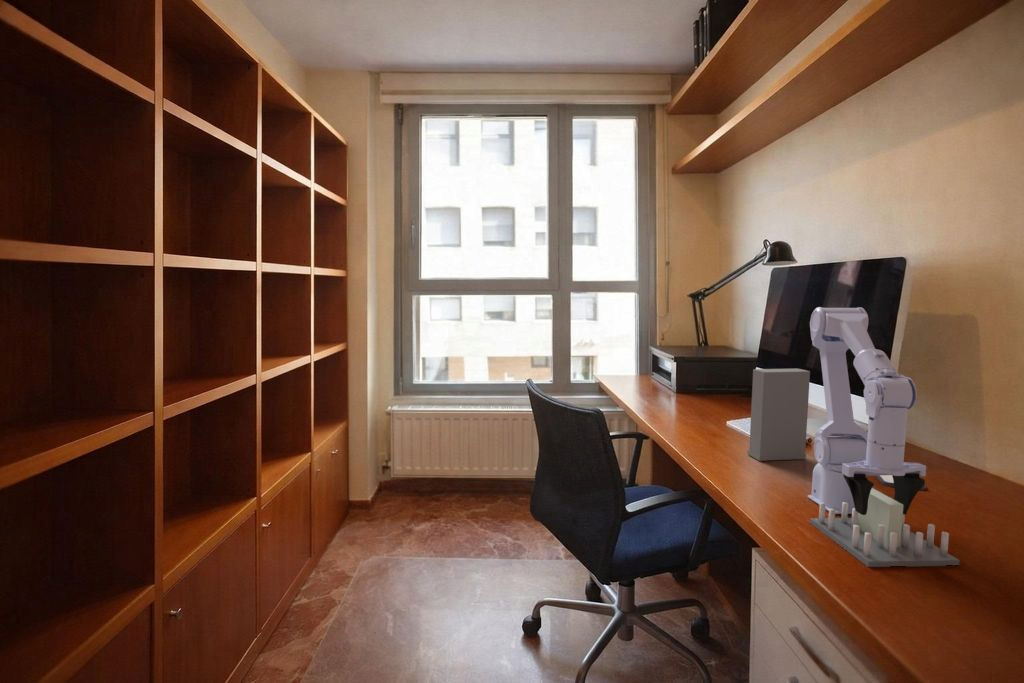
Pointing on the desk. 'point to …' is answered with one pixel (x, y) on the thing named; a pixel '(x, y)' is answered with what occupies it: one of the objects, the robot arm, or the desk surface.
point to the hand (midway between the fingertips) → (880, 512)
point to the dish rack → (874, 551)
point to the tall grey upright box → (779, 414)
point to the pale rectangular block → (882, 516)
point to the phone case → (889, 480)
